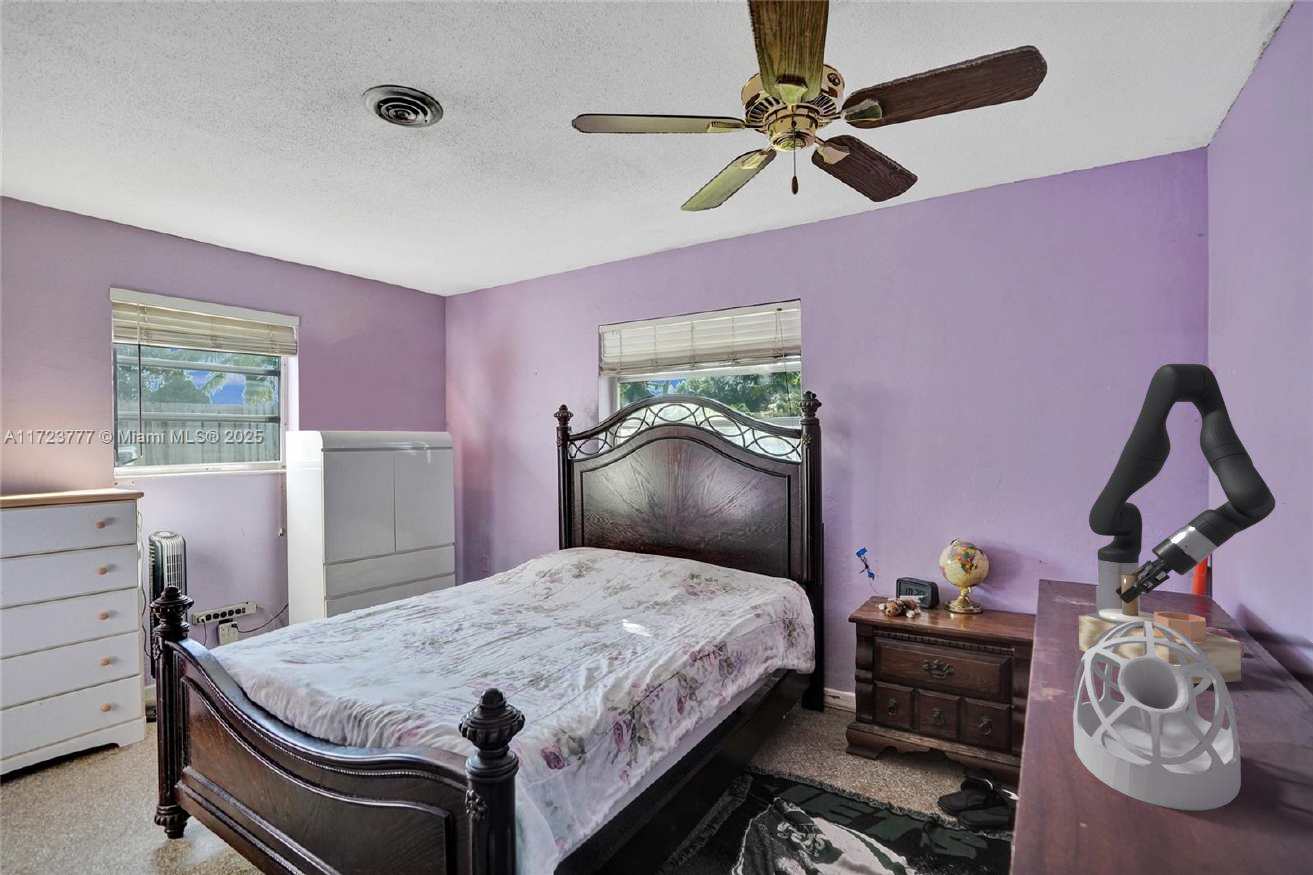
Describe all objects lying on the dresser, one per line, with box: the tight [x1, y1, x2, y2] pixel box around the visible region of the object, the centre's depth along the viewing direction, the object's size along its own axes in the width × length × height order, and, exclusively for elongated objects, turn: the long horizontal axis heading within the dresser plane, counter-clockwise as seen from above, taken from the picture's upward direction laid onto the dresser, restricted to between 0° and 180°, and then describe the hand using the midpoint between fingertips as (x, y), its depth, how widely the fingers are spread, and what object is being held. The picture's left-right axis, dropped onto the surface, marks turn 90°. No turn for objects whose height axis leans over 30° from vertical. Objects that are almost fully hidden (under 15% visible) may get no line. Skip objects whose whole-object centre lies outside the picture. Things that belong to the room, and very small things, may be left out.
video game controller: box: [1206, 626, 1245, 658], centre depth 151 cm, size 10×5×7 cm, turn 85°
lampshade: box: [1072, 621, 1242, 811], centre depth 96 cm, size 20×26×20 cm
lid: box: [1099, 574, 1154, 626], centre depth 149 cm, size 12×12×10 cm
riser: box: [1078, 614, 1242, 684], centre depth 143 cm, size 24×16×8 cm, turn 6°
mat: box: [1085, 612, 1154, 628], centre depth 149 cm, size 12×12×1 cm
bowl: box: [1153, 611, 1207, 641], centre depth 136 cm, size 8×8×4 cm
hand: (1120, 597), depth 150 cm, fingers open, 6 cm apart
